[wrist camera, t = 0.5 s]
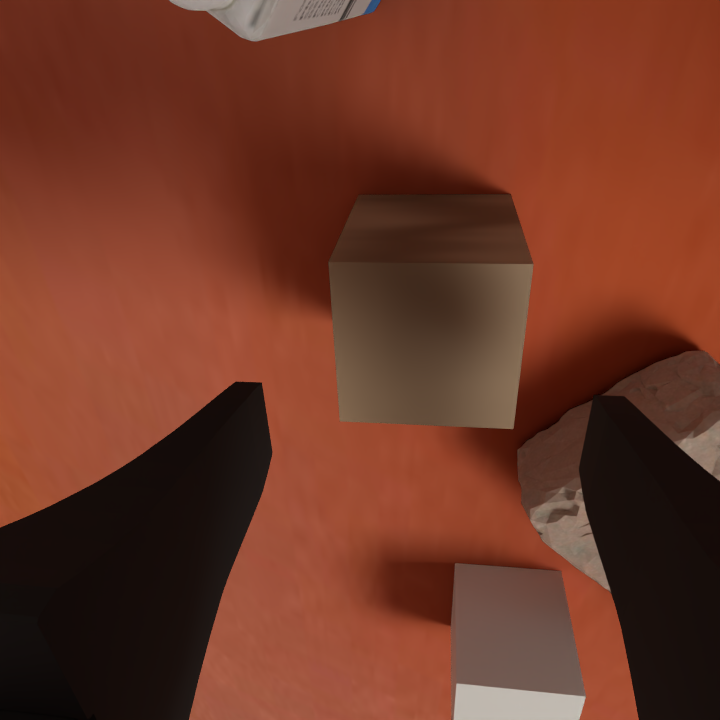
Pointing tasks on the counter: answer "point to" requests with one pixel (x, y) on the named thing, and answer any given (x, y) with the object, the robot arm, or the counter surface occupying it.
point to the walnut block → (430, 310)
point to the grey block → (512, 646)
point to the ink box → (278, 14)
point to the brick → (566, 439)
